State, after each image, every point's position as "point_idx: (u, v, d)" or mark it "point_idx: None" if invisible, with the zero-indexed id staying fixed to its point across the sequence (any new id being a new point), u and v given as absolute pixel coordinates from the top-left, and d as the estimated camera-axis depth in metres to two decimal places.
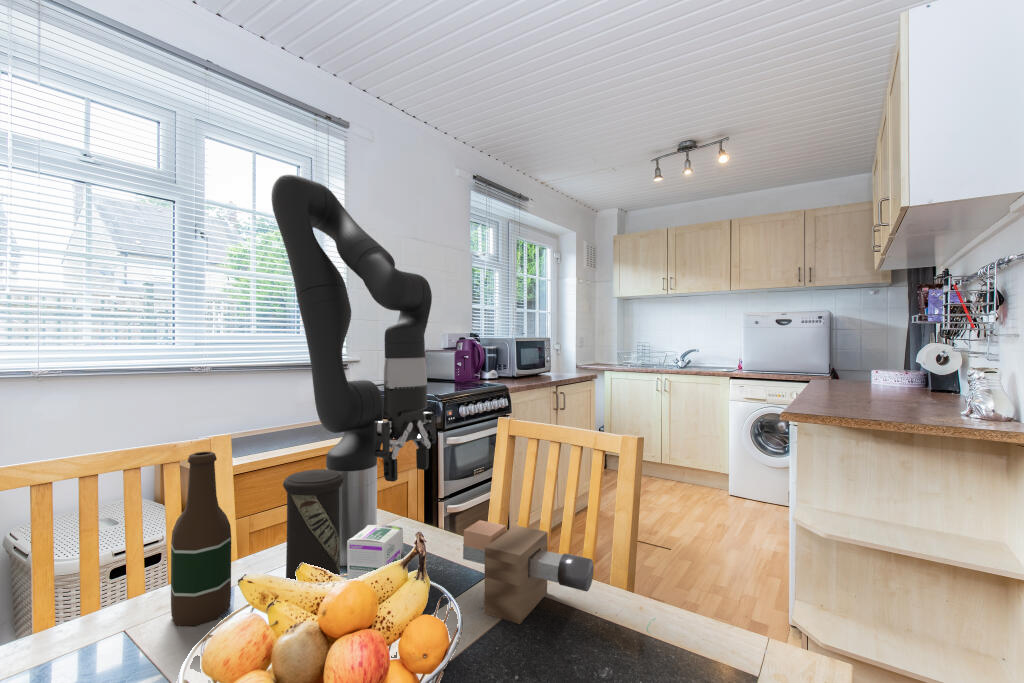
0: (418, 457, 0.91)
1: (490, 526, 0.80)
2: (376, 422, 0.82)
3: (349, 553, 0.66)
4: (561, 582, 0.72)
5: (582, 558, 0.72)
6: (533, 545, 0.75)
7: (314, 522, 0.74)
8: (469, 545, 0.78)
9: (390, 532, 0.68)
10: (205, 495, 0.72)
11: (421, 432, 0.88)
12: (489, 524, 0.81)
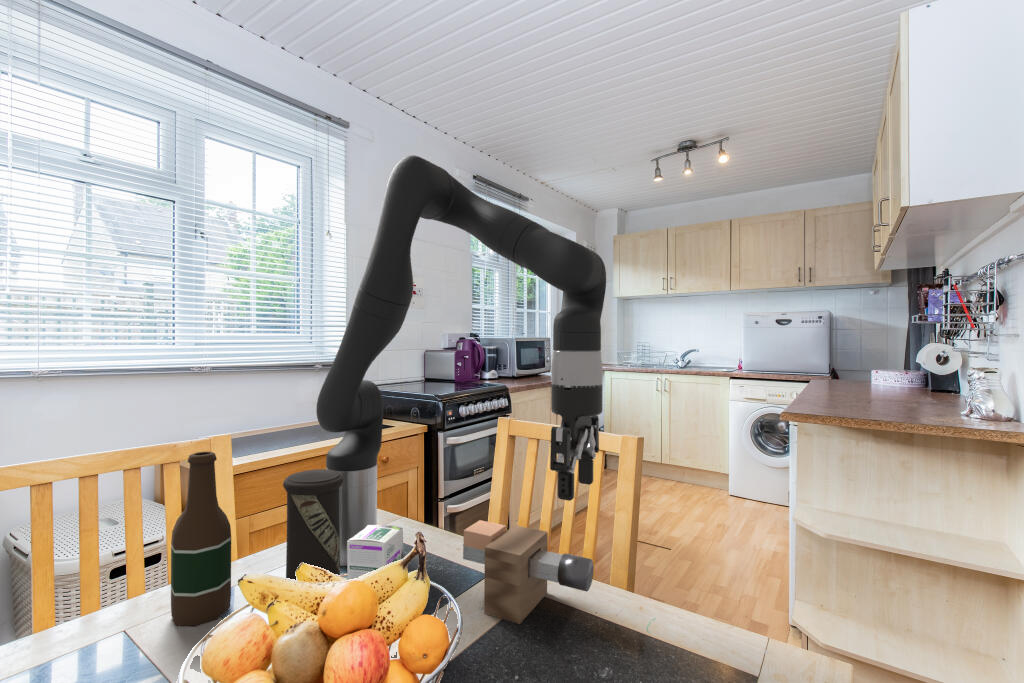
0: (581, 469, 0.76)
1: (490, 526, 0.80)
2: (554, 428, 0.67)
3: (349, 553, 0.66)
4: (561, 582, 0.72)
5: (582, 558, 0.72)
6: (533, 545, 0.75)
7: (314, 522, 0.74)
8: (469, 545, 0.78)
9: (390, 532, 0.68)
10: (205, 495, 0.72)
11: (591, 441, 0.73)
12: (489, 524, 0.81)
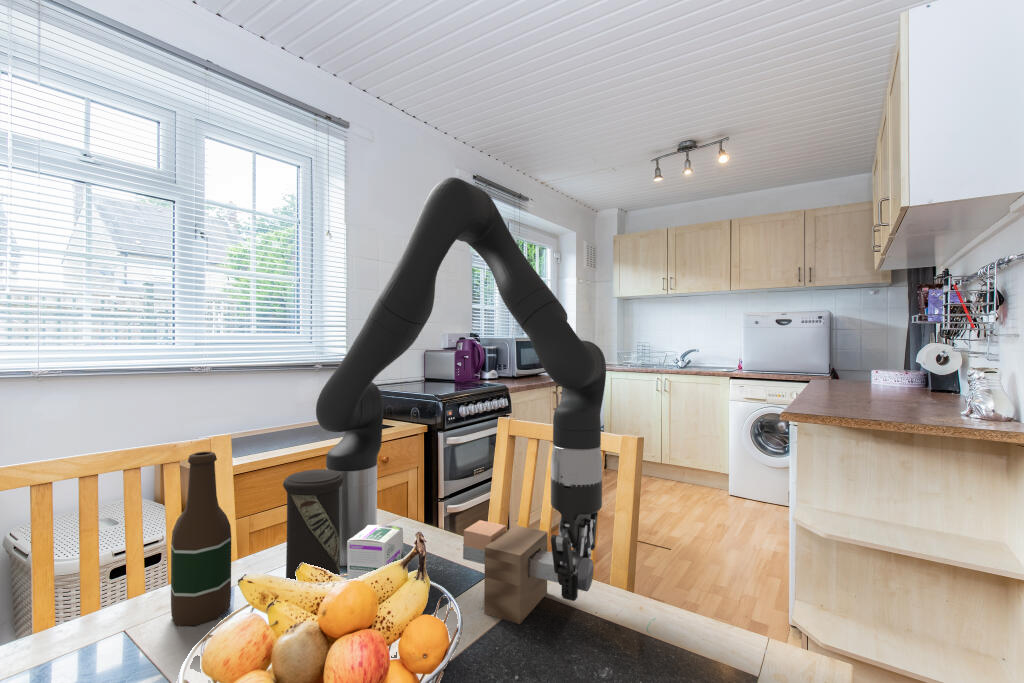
0: None
1: (490, 526, 0.80)
2: (553, 539, 0.67)
3: (349, 553, 0.66)
4: (561, 582, 0.72)
5: (582, 558, 0.72)
6: (533, 545, 0.75)
7: (314, 522, 0.74)
8: (469, 545, 0.78)
9: (390, 532, 0.68)
10: (206, 495, 0.72)
11: (589, 536, 0.73)
12: (489, 524, 0.81)
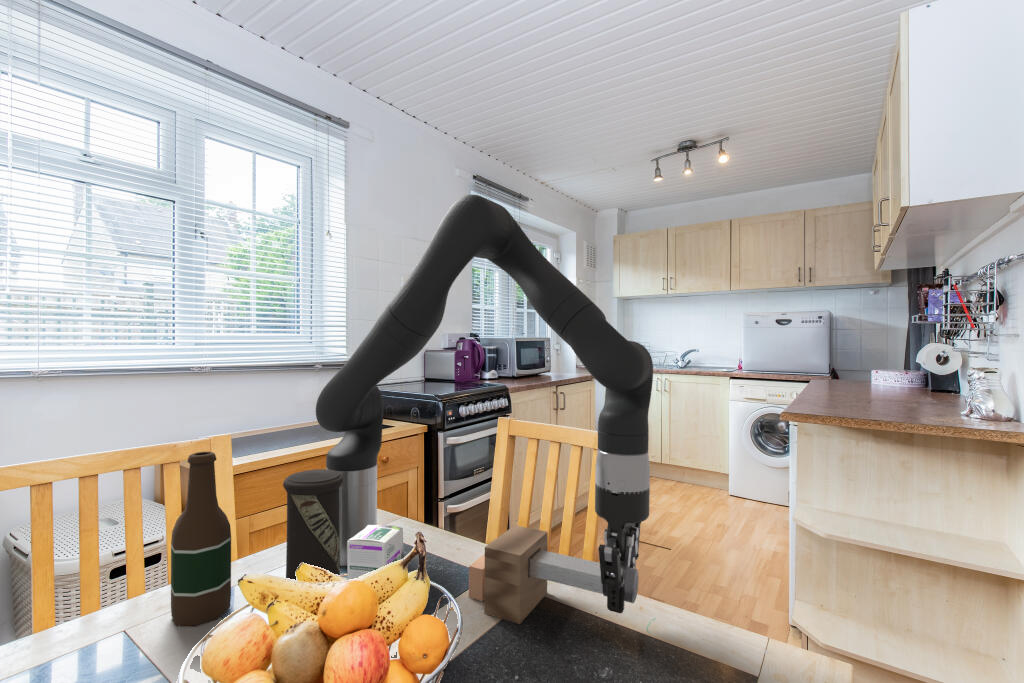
0: None
1: None
2: (601, 549, 0.64)
3: (349, 553, 0.66)
4: (606, 593, 0.68)
5: (627, 568, 0.69)
6: (533, 545, 0.75)
7: (314, 522, 0.74)
8: (480, 593, 0.78)
9: (391, 532, 0.68)
10: (205, 495, 0.72)
11: (635, 545, 0.70)
12: None
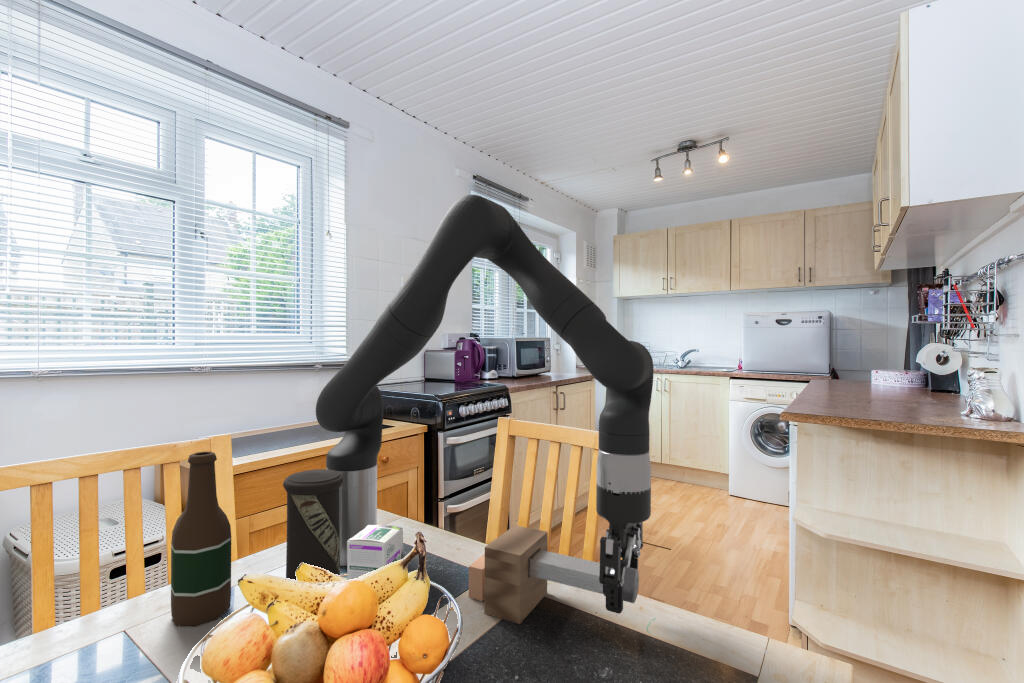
0: None
1: None
2: (603, 539, 0.64)
3: (349, 553, 0.66)
4: None
5: (628, 568, 0.69)
6: (533, 545, 0.75)
7: (314, 522, 0.74)
8: (480, 593, 0.78)
9: (390, 532, 0.68)
10: (206, 495, 0.72)
11: (638, 542, 0.70)
12: None
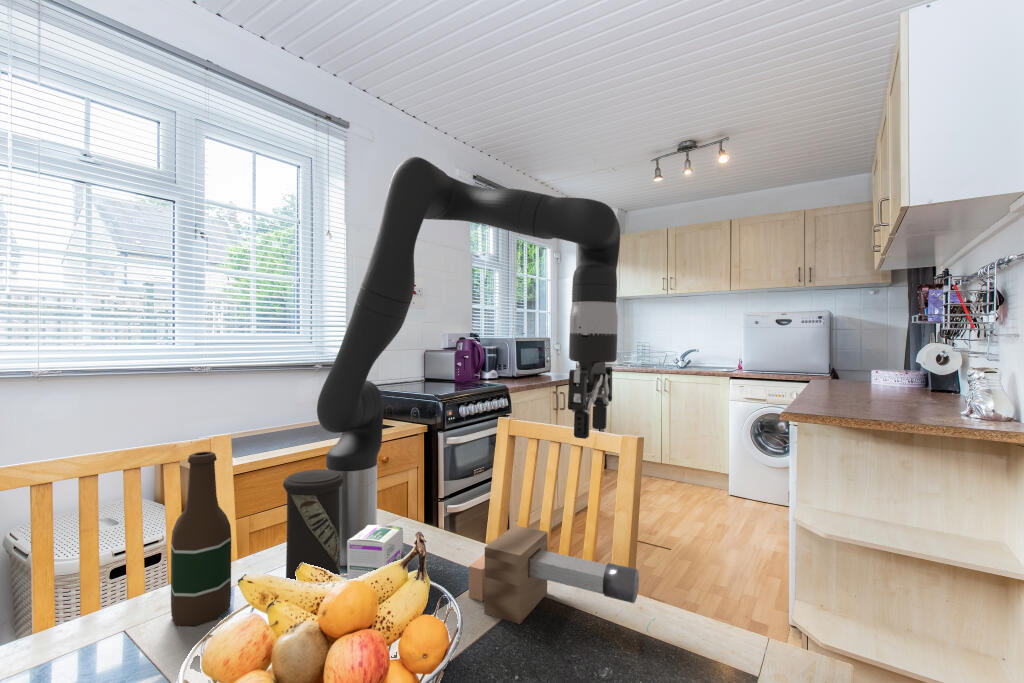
0: (595, 415, 0.82)
1: None
2: (572, 371, 0.73)
3: (349, 553, 0.66)
4: (606, 593, 0.68)
5: (628, 568, 0.69)
6: (533, 545, 0.75)
7: (314, 522, 0.74)
8: (480, 593, 0.78)
9: (390, 532, 0.68)
10: (205, 495, 0.72)
11: (605, 387, 0.79)
12: None
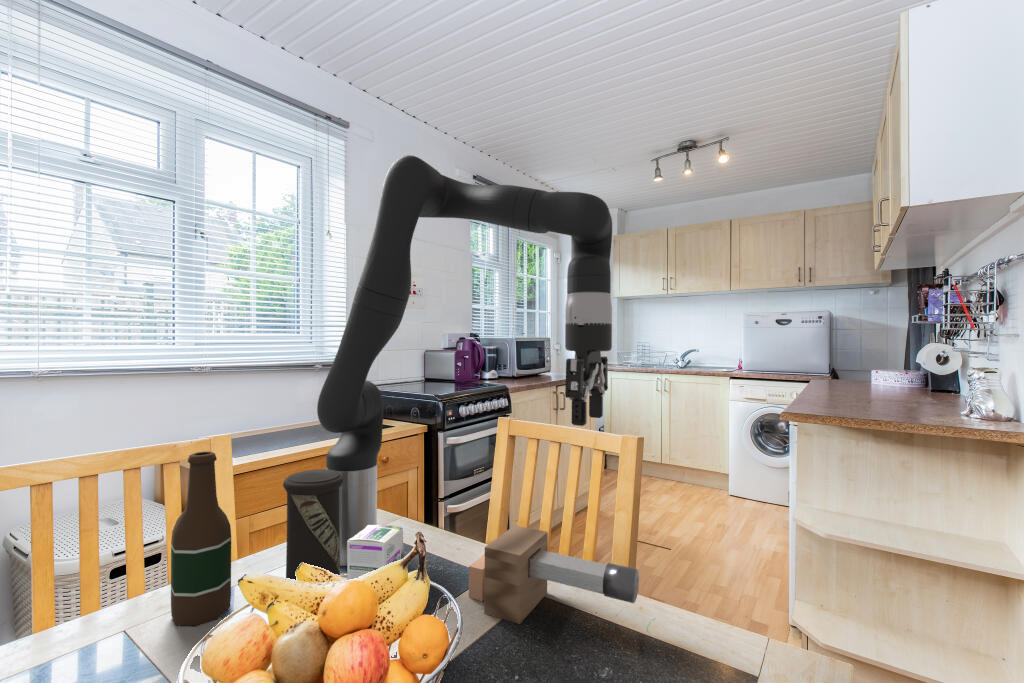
0: (591, 404, 0.84)
1: None
2: (568, 359, 0.75)
3: (349, 553, 0.66)
4: (606, 593, 0.68)
5: (628, 568, 0.69)
6: (533, 545, 0.75)
7: (314, 522, 0.74)
8: (480, 593, 0.78)
9: (390, 532, 0.68)
10: (205, 495, 0.72)
11: (601, 376, 0.81)
12: None
